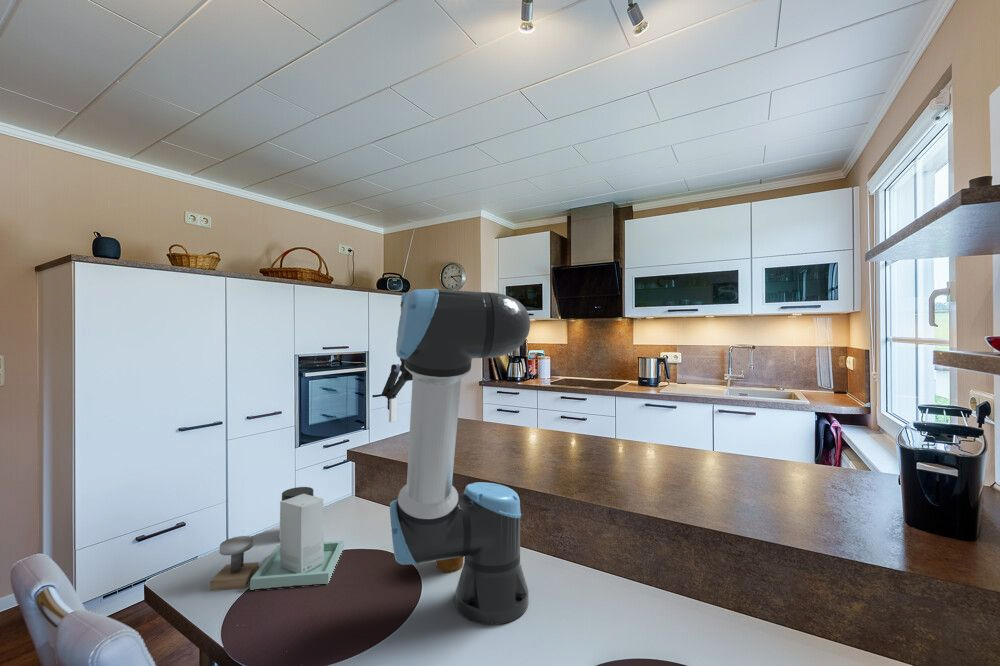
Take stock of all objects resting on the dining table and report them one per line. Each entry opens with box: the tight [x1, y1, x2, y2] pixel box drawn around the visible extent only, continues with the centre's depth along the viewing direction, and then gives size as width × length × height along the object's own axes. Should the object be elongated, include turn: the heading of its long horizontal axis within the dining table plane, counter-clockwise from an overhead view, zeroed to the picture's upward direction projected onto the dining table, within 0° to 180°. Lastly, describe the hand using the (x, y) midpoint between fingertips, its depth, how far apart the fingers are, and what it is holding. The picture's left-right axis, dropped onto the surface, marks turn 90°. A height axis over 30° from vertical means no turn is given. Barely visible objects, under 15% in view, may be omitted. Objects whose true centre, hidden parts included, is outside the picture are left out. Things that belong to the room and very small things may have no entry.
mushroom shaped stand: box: [209, 535, 260, 591], centre depth 93 cm, size 7×7×8 cm
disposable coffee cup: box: [435, 556, 465, 573], centre depth 100 cm, size 10×10×12 cm
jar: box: [278, 486, 315, 540], centre depth 116 cm, size 9×8×12 cm
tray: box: [249, 540, 344, 591], centre depth 98 cm, size 16×16×2 cm
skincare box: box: [279, 494, 325, 573], centre depth 98 cm, size 8×7×16 cm
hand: (412, 423), depth 115 cm, fingers open, 13 cm apart
